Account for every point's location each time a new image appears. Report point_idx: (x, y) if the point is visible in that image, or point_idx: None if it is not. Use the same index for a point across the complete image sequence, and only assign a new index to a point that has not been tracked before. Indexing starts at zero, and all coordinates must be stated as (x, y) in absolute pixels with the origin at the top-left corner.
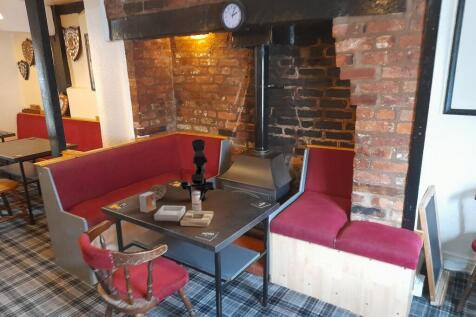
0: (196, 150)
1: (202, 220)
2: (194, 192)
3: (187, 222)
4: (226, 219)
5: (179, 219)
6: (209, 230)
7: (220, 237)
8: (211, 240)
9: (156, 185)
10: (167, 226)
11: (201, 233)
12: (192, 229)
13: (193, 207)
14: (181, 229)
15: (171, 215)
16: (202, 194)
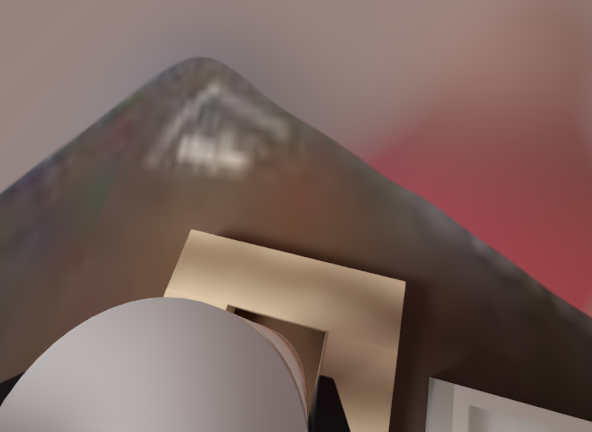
0: None
1: (223, 270)
2: (197, 425)
3: (344, 269)
4: (33, 348)
5: (428, 412)
6: (198, 187)
7: (156, 107)
8: (206, 87)
9: None
10: (494, 290)
11: (250, 158)
12: (304, 215)
13: (287, 342)
14: (378, 226)
15: (527, 404)
16: (6, 380)
